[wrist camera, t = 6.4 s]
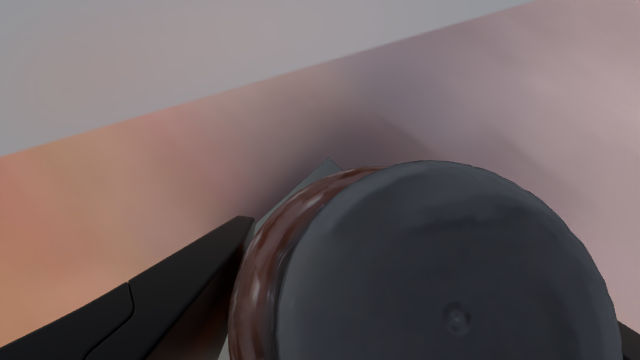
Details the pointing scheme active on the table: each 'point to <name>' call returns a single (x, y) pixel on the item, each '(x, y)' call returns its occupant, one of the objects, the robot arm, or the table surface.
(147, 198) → the table surface
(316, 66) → the table surface
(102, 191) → the table surface
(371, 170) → the supplement bottle
